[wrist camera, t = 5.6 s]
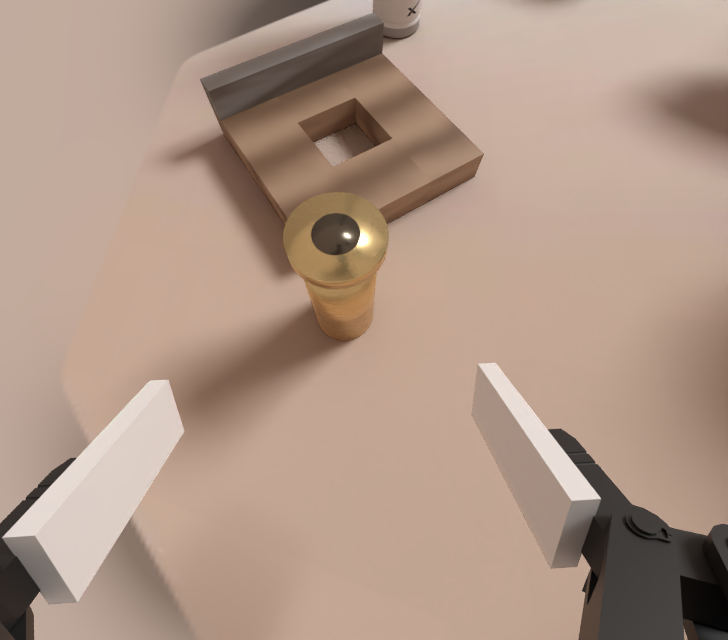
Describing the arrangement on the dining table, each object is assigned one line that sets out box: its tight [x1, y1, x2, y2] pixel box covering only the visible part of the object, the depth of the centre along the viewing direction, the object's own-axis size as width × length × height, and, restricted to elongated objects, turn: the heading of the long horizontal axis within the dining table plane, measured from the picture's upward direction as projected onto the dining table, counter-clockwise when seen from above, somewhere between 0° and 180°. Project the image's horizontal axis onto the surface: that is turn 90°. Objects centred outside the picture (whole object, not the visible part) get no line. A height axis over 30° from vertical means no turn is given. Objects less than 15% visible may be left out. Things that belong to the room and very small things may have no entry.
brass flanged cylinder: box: [283, 192, 388, 340], centre depth 25 cm, size 6×6×12 cm
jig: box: [200, 13, 484, 224], centre depth 34 cm, size 20×20×6 cm
